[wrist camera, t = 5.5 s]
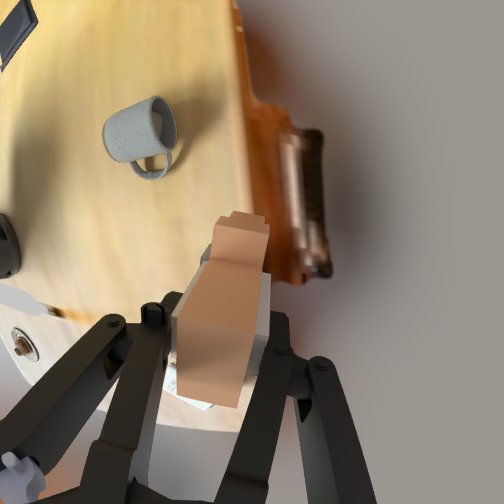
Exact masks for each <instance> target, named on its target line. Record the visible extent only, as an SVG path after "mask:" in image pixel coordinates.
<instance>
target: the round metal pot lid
mask: <svg viewBox="0 0 504 504" xmlns="http://www.w3.org/2000/svg"><path fill="white" fill-rule="evenodd" d="M17 334H21V335H22V336H24V337H25V338H26V339H27V341H28V342H29V343H30V345H31V346H32V348H33V351H34V354H33V355H30V354H31V349H30V347H29V345H28V344H27V342H26V341H25V340H24V339H22V338H17ZM11 335H12V338H13V341H14V343H15V348H16V349H14V350H15V352H16V353H17V355H19V356H21V355H22V356H25V357H26V358H28V359H29V360H31V361H33V362H36V361H37V360H38V356H37V352H36V350H35V348H34V347H33V345H32V344H31V341H30V340H29V339H28V338H27V336H26V335H25V334H24V333H22V332H21V331H19V330H17V329H12V331H11Z"/></svg>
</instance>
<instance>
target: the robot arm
mask: <svg viewBox="0 0 504 504" xmlns="http://www.w3.org/2000/svg"><path fill="white" fill-rule="evenodd" d="M206 264H207V261H203V262H202V264H201V266H200V267H199V269H198V271H197V272H196V274H195V276H194V277H193V279H192V281H191V282H190V284H189V286H188V287H187V289H186V291H185V292H184V294H183V293H179V292H174V291H172V292H170V293H168V294H166V295H165V297H164V298H163V300H162V301H161V303H157V302H150V303H146V304H144V305H143V306H142V307H141V321H142V322H141V323H126V320H125V318H124V317H123V316H121V315H119V314H108V315H105V316H104V317H102V318H101V319H100V320H99V321H98V322H97V323H96V324H95V325H94V326H93V327H92V328H91V329H90V330H89V331H88V332H87V333H86V334H84V335H83V336H82V337H81V338H80V339H79V340H78V341H77V342H76V343H75V344H74V345H73V346H72V347H71V348H70V349H69V350H68V351H67V352H66V353H65V354H64V355H63V356H62V357H61V358H60V359H59V360H58V361H57V362H56V363H55V364H54V365H53V366H52V367H51V368H50V369H49V370H48V371H47V372H46V373H45V374H44V375H43V377H42V378H41V379H40V380H39V381H38V382H37V383H36V384H35V385H34V386H33V387H32V388H31V389H30V390H29V391H28V392H27V394H26V395H25V396H24V397H23V398H22V399H21V400H20V401H19V403H17V405H16V406H15V407H14V408H13V409H12V410H11V411H10V413H9V414H8V415H7V416H6V417H5V418H4V419H2V420H0V497H1V498H2V500H3V502H4V503H5V504H265V501H266V498H267V493H268V489H269V485H268V479H269V474H270V470H271V466H272V462H273V458H274V454H275V449H276V445H277V440H278V436H279V431H280V426H281V422H282V416H283V412H284V407H285V401H286V396H287V395H289V396H291V397H293V401H294V407H295V414H296V420H297V427H298V433H299V441H300V447H301V454H302V461H303V468H304V476H305V482H306V490H307V498H308V504H377V502H376V498H375V495H374V491H373V487H372V484H371V480H370V476H369V473H368V470H367V466H366V462H365V459H364V456H363V452H362V449H361V445H360V442H359V439H358V435H357V432H356V429H355V426H354V422H353V419H352V416H351V413H350V410H349V407H348V404H347V401H346V398H345V395H344V392H343V389H342V386H341V383H340V380H339V377H338V374H337V371H336V368H335V365H334V364H333V362H332V361H331V360H329V359H327V358H325V357H322V356H314V357H313V358H311V359H310V360H309V361H308V360H306V359H303V358H301V357H299V356H297V355H296V354H294V351H293V349H292V347H291V346H290V331H289V319H288V317H287V316H286V314H285V313H281V312H276V311H270V292H271V274H269V273H263V272H262V274H261V284H260V294H259V303H258V313H257V322H256V332H255V337H254V341H253V345H252V349H251V353H250V357H249V361H248V365H247V369H246V373H245V374H248V375H254V376H258V378H257V381H256V384H255V387H254V390H253V393H252V396H251V399H250V403H249V406H248V409H247V412H246V415H245V418H244V421H243V424H242V427H241V429H240V432H239V435H238V438H237V441H236V444H235V447H234V450H233V452H232V455H231V458H230V461H229V464H228V466H227V469H226V472H225V474H224V477H223V479H222V482H221V485H220V487H219V490H218V492H217V495H216V498H215V500H214V503H212V502H206V501H190V500H172V499H169V498H167V497H165V496H163V495H161V494H159V493H157V492H156V491H154V490H152V489H150V488H148V468H149V461H150V454H151V448H152V442H153V436H154V430H155V425H156V419H157V414H158V408H159V403H160V398H161V393H162V388H163V383H164V379H165V374H166V369H167V365H168V355H169V353H170V351H171V358H174V359H176V354H177V317H178V315H179V313H180V311H181V309H182V307H183V305H184V304H185V302H186V300H187V298H188V296H189V295H190V293H191V291H192V289H193V287H194V285H195V284H196V282H197V280H198V278H199V277H200V275H201V273H202V271H203V269H204V268H205V266H206ZM19 267H20V250H19V245H18V241H17V238H16V235H15V232H14V230H13V228H12V226H11V224H10V223H9V221H8V220H7V219H6V218H5V217H4V216H3V215H1V214H0V279H6V278H10V277H12V276H13V275H15V274H16V273H17V272H18V270H19ZM258 373H259V374H258ZM119 376H120V378H119ZM118 378H119V380H118V383H117V386H116V389H115V392H114V395H113V397H112V400H111V403H110V406H109V409H108V412H107V415H106V419H105V422H104V425H103V428H102V431H101V435H100V437H99V439H98V440H94V441H93V442H92V444H91V447H90V449H89V453H88V456H87V460H86V463H85V467H84V471H83V475H82V479H81V483H80V486H78V487H76V488H73V489H70V490H67V491H65V492H62V493H59V494H56V495H53V496H50V497H47V498H44V499H41V500H38V496H39V493H40V492H43V491H44V490H45V489H46V484H45V478H44V476H45V475H47V474H48V473H49V472H50V471H51V470H52V469H53V468H54V467H55V466H56V465H57V463H58V462H59V461H60V459H61V458H62V456H63V455H64V453H65V452H66V450H67V449H68V447H69V446H70V445H71V443H72V442H73V440H74V439H75V437H76V436H77V435H78V433H79V432H80V430H81V429H82V427H83V426H84V425H85V423H86V422H87V420H88V419H89V418H90V416H91V415H92V413H93V412H94V411H95V409H96V408H97V406H98V405H99V404H100V402H101V401H102V400H103V398H104V397H105V395H106V394H107V393H108V391H109V390H110V389H111V387H112V386H113V385H114V383H115V382H116V381H117V379H118Z"/></svg>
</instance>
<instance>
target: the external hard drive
mask: <svg viewBox="0 0 504 504" xmlns="http://www.w3.org/2000/svg"><path fill="white" fill-rule="evenodd" d="M162 389H164V390H166V391H168V392H169V393H171V394H173V395H175V396H176V397H178V398H180V399H182V400H184V401H186V402H188V403H190V404H192V405H193V406H195V407H197V408H200V409H202V410H204V411H206V410H207V409H208V408H209V407H210V406H212V405H213V404H211V403H206V402H202V401H198V400H193V399H189V398H185V397H182V396H178V395H177V384H176V366H175V365H173V364H172V363H170V364H169V365H168V366H167V369H166V374H165V379H164V383H163V388H162Z"/></svg>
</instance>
